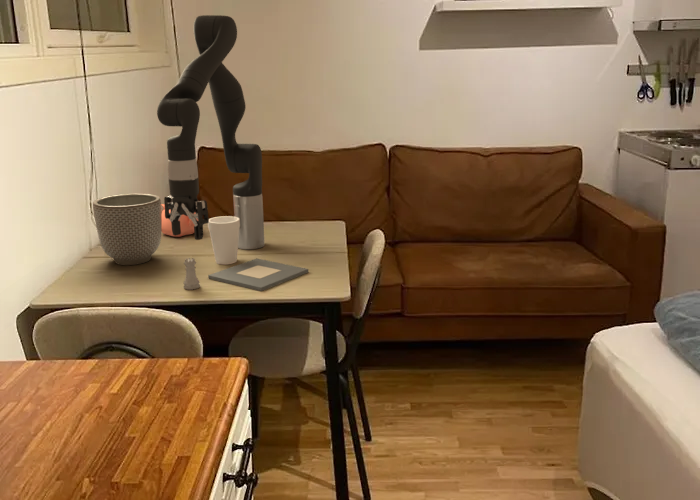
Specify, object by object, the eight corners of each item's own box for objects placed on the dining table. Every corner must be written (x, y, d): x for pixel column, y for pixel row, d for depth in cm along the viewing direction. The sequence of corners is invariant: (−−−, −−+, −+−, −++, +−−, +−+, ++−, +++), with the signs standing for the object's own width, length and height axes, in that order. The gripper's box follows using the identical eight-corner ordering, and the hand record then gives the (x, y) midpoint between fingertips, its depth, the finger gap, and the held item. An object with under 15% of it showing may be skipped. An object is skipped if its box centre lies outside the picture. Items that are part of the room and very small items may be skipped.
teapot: (182, 240, 246) (179, 210, 244) (150, 232, 258) (147, 204, 255) (208, 234, 255) (206, 204, 252) (177, 226, 266) (174, 198, 263)
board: (208, 278, 205) (208, 274, 205) (257, 261, 221) (256, 258, 221) (261, 291, 194) (260, 287, 194) (308, 272, 210) (308, 268, 209)
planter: (87, 261, 224) (79, 200, 219) (143, 248, 238) (138, 190, 232) (121, 274, 211) (114, 209, 206) (178, 259, 225) (173, 198, 219)
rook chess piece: (184, 285, 200) (182, 257, 198) (201, 284, 200) (199, 256, 198) (182, 290, 196) (180, 261, 194) (199, 289, 196) (197, 261, 194)
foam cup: (226, 255, 228) (223, 214, 224) (248, 259, 223) (245, 218, 219) (204, 262, 220) (200, 221, 217) (226, 267, 215) (223, 224, 212)
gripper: (153, 176, 191) (159, 236, 195) (191, 181, 183) (195, 243, 187) (176, 172, 197) (180, 230, 201) (213, 176, 189) (217, 237, 193)
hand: (187, 237), depth 194 cm, fingers open, 8 cm apart
